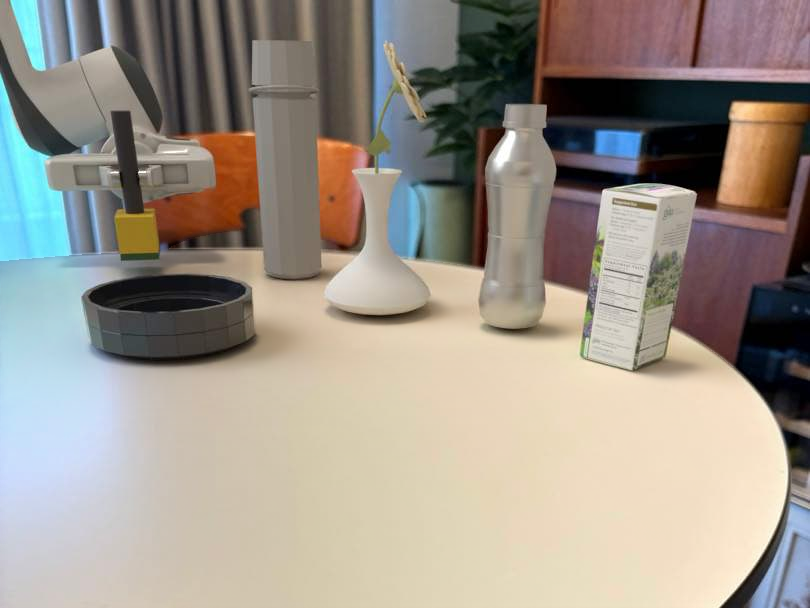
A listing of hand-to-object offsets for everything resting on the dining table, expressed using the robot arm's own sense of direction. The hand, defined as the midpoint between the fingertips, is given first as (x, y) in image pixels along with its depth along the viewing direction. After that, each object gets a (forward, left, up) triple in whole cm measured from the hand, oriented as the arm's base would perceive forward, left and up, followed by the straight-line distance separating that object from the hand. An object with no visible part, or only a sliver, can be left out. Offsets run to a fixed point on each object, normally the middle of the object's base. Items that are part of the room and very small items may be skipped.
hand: (129, 179), depth 98 cm
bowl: (-3, -30, -11) cm, 32 cm away
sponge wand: (0, +1, -9) cm, 9 cm away
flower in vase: (+20, -27, -11) cm, 36 cm away
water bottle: (+17, -7, -11) cm, 22 cm away
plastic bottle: (+29, -39, -11) cm, 50 cm away
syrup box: (+33, -52, -11) cm, 63 cm away
